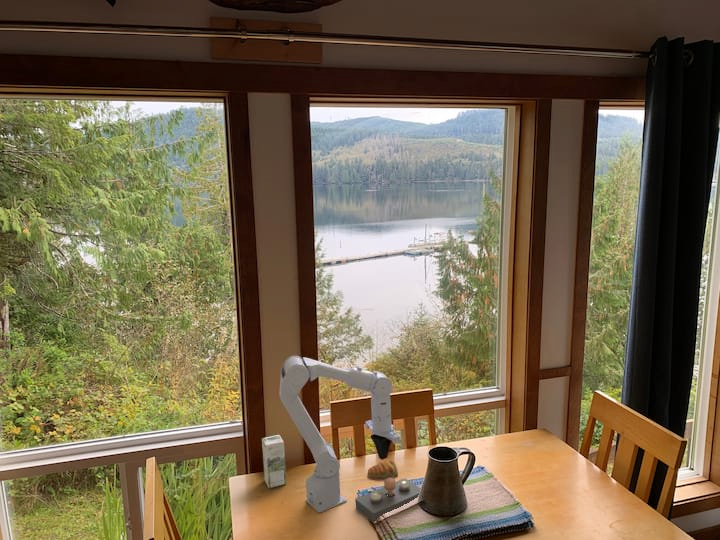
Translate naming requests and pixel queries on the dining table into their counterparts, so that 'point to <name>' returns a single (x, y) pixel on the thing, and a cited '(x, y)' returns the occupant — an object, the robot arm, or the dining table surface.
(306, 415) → the robot arm
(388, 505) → the knob panel
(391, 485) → the middle knob
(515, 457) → the dining table surface
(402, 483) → the far knob
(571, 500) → the dining table surface
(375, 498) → the near knob
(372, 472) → the pastry
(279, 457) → the syrup box
